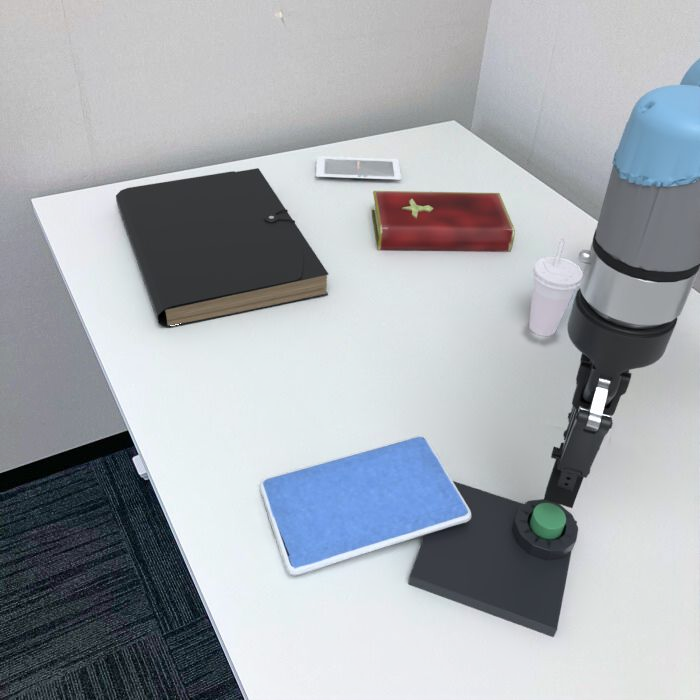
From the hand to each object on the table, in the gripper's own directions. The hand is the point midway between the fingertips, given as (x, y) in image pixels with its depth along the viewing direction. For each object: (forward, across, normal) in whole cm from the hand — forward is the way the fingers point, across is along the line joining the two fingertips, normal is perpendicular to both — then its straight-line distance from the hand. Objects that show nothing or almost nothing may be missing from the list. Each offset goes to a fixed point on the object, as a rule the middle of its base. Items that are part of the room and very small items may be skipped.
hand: (559, 497), depth 72 cm
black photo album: (+7, -33, -56) cm, 66 cm away
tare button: (+4, 0, 0) cm, 4 cm away
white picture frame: (+7, -66, -45) cm, 81 cm away
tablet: (+6, +4, -18) cm, 20 cm away
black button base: (+7, +4, -4) cm, 9 cm away
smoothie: (+7, -35, -6) cm, 37 cm away
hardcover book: (+7, -53, -26) cm, 60 cm away
